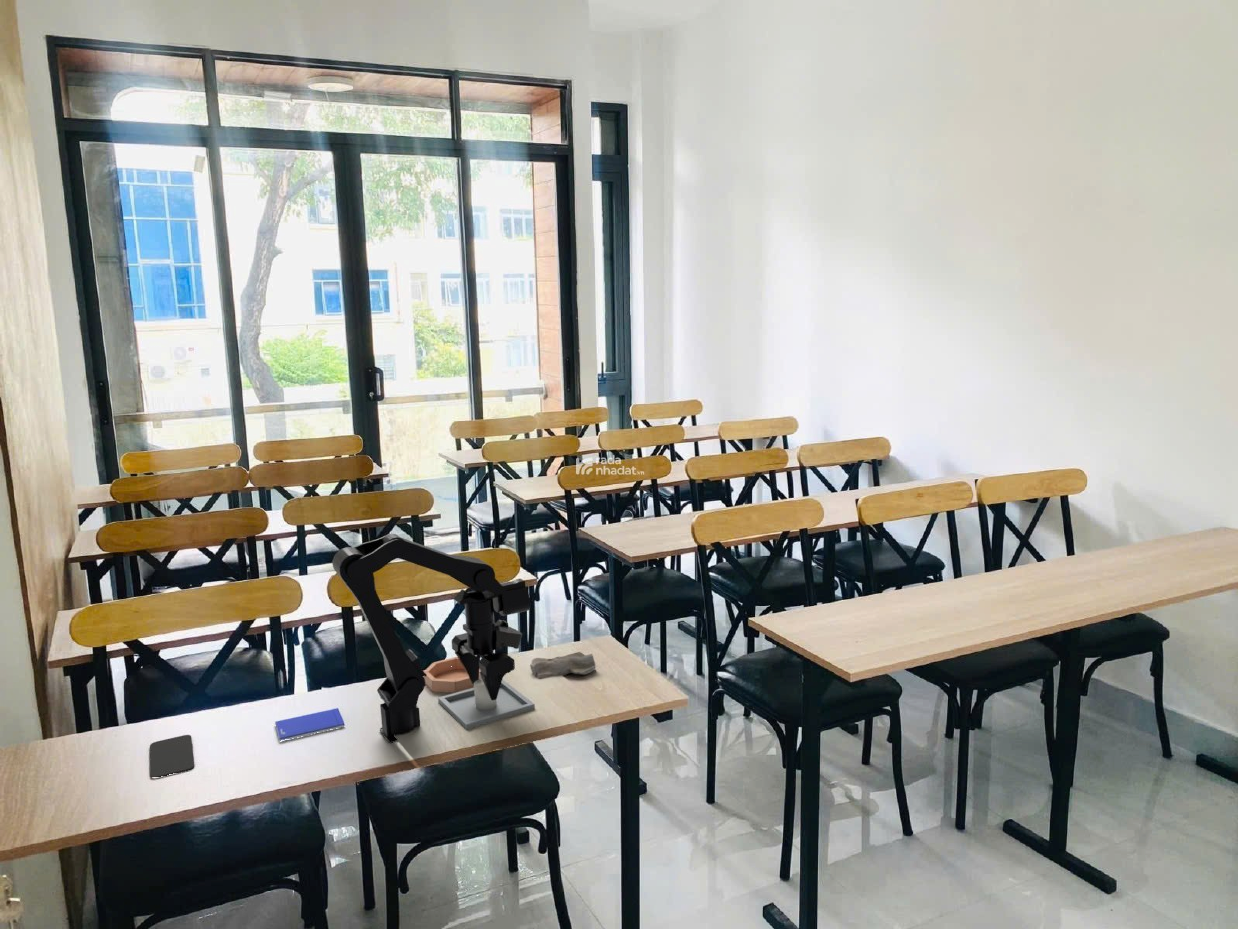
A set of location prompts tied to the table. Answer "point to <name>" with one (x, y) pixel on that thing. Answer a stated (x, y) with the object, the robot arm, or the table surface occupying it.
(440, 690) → the bowl
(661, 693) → the table surface
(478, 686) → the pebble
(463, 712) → the parts tray
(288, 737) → the hard drive
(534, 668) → the stone
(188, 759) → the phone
